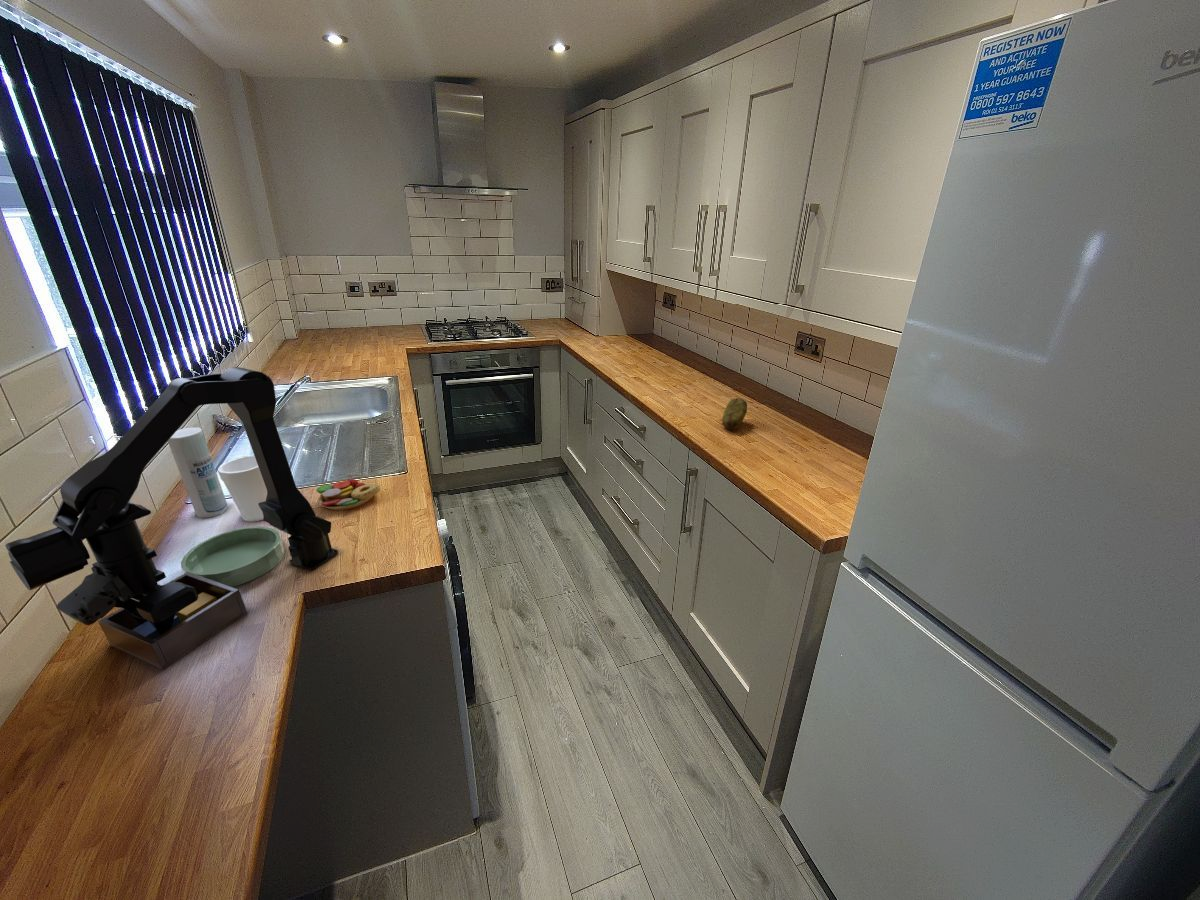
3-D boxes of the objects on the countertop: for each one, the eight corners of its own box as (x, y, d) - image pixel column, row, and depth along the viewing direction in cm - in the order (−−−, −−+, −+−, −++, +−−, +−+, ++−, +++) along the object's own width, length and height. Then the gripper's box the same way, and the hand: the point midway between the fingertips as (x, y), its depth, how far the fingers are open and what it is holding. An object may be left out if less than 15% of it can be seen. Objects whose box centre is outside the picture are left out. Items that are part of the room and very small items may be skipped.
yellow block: (207, 602, 93) (202, 591, 92) (220, 607, 92) (216, 596, 91) (177, 621, 89) (172, 609, 88) (190, 626, 87) (185, 615, 86)
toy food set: (387, 498, 128) (384, 486, 127) (332, 519, 119) (329, 507, 118) (362, 481, 137) (359, 470, 135) (309, 500, 128) (305, 488, 126)
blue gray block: (169, 622, 88) (164, 610, 87) (183, 627, 86) (178, 616, 85) (135, 642, 83) (129, 631, 82) (149, 649, 82) (143, 637, 81)
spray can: (212, 503, 127) (185, 426, 119) (235, 505, 126) (209, 428, 118) (188, 516, 122) (157, 437, 113) (212, 519, 120) (182, 439, 112)
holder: (197, 594, 96) (188, 571, 94) (247, 613, 91) (239, 589, 89) (110, 645, 84) (97, 621, 82) (162, 670, 80) (150, 644, 78)
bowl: (248, 534, 114) (244, 520, 113) (302, 550, 108) (298, 535, 107) (167, 578, 100) (161, 563, 99) (224, 598, 95) (218, 583, 93)
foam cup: (240, 509, 124) (223, 459, 119) (284, 501, 128) (269, 452, 123) (232, 528, 116) (213, 476, 111) (279, 519, 120) (263, 468, 114)
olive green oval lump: (711, 427, 168) (713, 404, 165) (731, 417, 177) (733, 394, 173) (735, 433, 163) (737, 409, 160) (753, 422, 172) (756, 399, 168)
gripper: (17, 568, 75) (64, 651, 81) (92, 600, 68) (137, 687, 74) (108, 528, 84) (144, 605, 90) (182, 553, 78) (215, 634, 84)
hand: (158, 632), depth 85 cm, fingers closed on blue gray block, 3 cm apart
